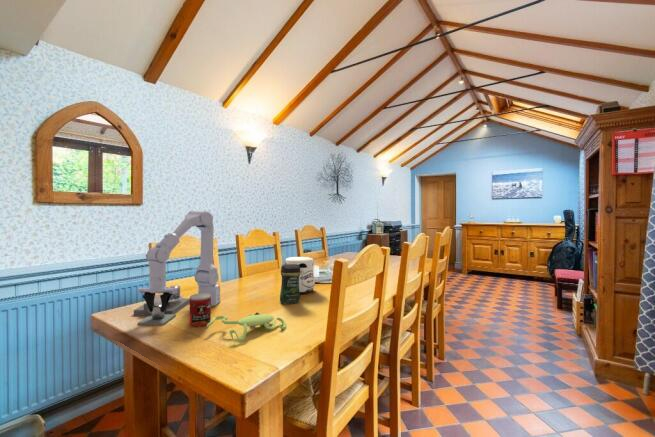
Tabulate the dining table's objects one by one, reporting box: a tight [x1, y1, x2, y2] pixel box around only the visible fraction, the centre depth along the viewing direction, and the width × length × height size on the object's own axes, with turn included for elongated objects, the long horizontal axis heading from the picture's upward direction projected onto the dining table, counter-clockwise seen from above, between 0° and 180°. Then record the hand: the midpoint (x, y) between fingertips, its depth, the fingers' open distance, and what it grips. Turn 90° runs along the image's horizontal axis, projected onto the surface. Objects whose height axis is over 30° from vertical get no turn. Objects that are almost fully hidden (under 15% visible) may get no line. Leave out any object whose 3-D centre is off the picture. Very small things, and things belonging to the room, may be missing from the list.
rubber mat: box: [137, 313, 177, 326], centre depth 125 cm, size 10×10×1 cm
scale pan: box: [154, 293, 183, 303], centre depth 141 cm, size 14×14×1 cm
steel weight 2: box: [169, 285, 181, 299], centre depth 141 cm, size 4×4×5 cm
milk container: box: [284, 256, 316, 294], centre depth 173 cm, size 17×17×18 cm
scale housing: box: [133, 297, 190, 316], centre depth 140 cm, size 16×18×5 cm
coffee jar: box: [279, 263, 301, 305], centre depth 153 cm, size 10×8×19 cm
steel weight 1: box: [152, 304, 165, 320], centre depth 125 cm, size 4×4×5 cm
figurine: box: [206, 312, 287, 345], centre depth 117 cm, size 18×27×6 cm
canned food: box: [189, 293, 212, 328], centre depth 122 cm, size 8×8×11 cm
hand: (157, 311), depth 125 cm, fingers closed on steel weight 1, 4 cm apart
